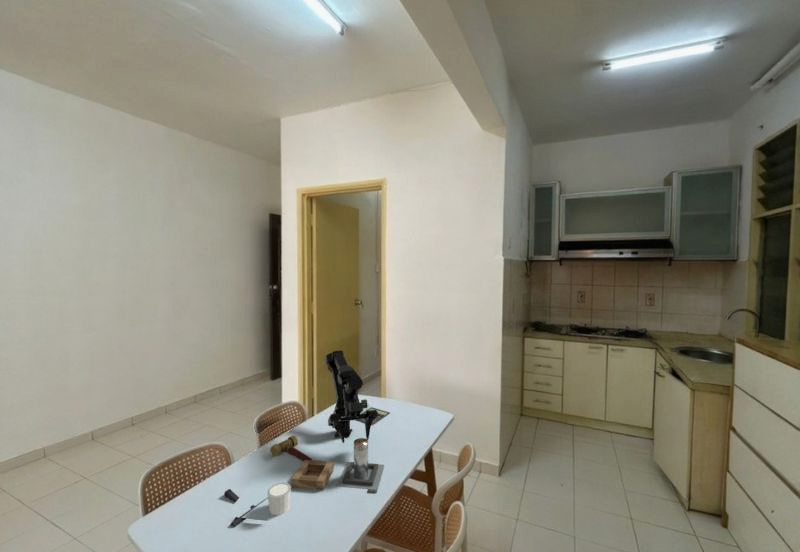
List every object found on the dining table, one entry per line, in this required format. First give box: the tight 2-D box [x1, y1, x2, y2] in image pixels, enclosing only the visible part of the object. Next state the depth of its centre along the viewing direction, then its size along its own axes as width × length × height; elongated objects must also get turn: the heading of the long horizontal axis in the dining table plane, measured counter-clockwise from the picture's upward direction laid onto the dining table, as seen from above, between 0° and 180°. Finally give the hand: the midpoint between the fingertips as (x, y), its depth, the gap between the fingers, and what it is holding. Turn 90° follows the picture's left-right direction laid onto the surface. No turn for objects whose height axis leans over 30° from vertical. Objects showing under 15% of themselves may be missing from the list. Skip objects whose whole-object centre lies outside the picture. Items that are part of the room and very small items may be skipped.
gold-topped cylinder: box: [353, 437, 369, 479], centre depth 122 cm, size 5×5×12 cm
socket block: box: [291, 459, 335, 491], centre depth 121 cm, size 11×11×4 cm
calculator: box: [355, 407, 391, 426], centre depth 170 cm, size 12×1×15 cm
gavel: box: [269, 435, 313, 462], centre depth 135 cm, size 21×5×10 cm
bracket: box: [224, 488, 268, 528], centre depth 110 cm, size 14×15×3 cm
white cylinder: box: [267, 482, 292, 516], centre depth 106 cm, size 7×7×7 cm
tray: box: [335, 461, 385, 493], centre depth 123 cm, size 14×14×2 cm
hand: (355, 441), depth 130 cm, fingers open, 9 cm apart
